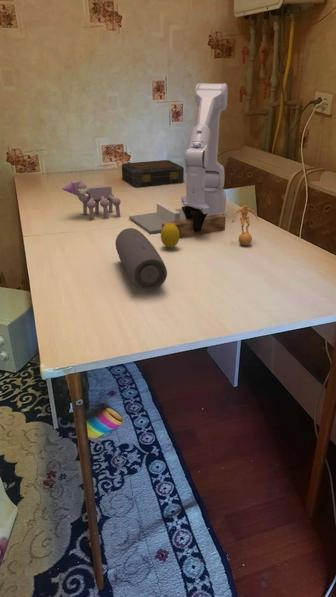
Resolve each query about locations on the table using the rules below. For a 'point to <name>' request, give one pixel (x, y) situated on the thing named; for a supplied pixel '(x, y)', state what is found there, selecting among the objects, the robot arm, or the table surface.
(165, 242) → the lemon
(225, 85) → the robot arm
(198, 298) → the table surface
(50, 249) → the table surface
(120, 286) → the table surface
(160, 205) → the fulcrum stand
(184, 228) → the walnut beam
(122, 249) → the bluetooth speaker
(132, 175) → the cash box
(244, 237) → the figurine
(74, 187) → the purple toy animal
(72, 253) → the table surface
